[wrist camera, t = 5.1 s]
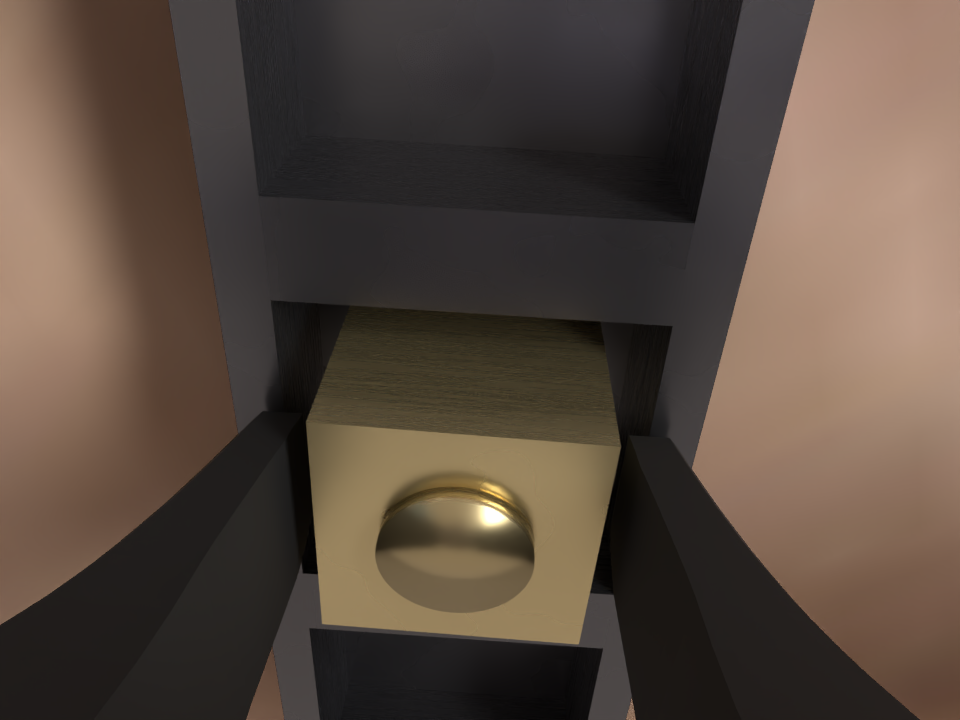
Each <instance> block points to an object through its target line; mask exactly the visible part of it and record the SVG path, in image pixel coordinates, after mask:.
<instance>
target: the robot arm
mask: <svg viewBox="0 0 960 720" xmlns="http://www.w3.org/2000/svg"><path fill="white" fill-rule="evenodd" d="M311 517H312V502H311V492H310V482H309V472H308V462H307V452H306V442H305V432H304V422H303V414H301V413H286V412H270V411H262V412H261V413H260V414H259V415H257V416H256V417H255V418H254V419H253V420H252V421H251V422H250V423H249V424H248V425H247V426H246V427H245V428H244V429H243V430H242V431H241V432H240V433H239V434H238V435H237V436H236V437H235V438H234V439H233V440H232V441H231V442H230V443H229V444H228V445H227V446H226V447H225V448H224V449H223V450H222V451H221V452H220V453H219V454H217V455H216V456H215V457H214V458H213V459H212V460H211V461H210V462H209V463H208V464H207V465H206V466H205V467H204V468H203V469H202V470H201V471H200V472H199V473H198V474H197V475H195V476H194V477H193V478H192V479H191V480H190V481H189V482H188V483H187V484H186V485H185V486H184V487H183V488H181V489H180V490H179V491H178V492H177V493H176V494H175V495H174V496H173V497H172V498H171V499H170V500H168V501H167V502H166V503H165V504H164V505H163V506H162V507H161V508H159V509H158V510H157V511H156V512H155V513H153V514H152V515H151V516H150V517H149V518H148V519H146V520H145V521H144V522H143V523H142V524H140V525H139V526H138V527H137V528H136V529H134V530H133V531H132V532H131V533H130V534H128V535H127V536H126V537H125V538H124V539H122V540H121V541H120V542H119V543H118V544H116V545H115V546H114V547H113V548H111V549H110V550H109V551H108V552H106V553H105V554H104V555H102V556H101V557H100V558H99V559H97V560H96V561H95V562H93V563H92V564H91V565H89V566H88V567H87V568H85V569H84V570H83V571H81V572H80V573H78V574H77V575H76V576H74V577H73V578H71V579H70V580H69V581H67V582H66V583H64V584H63V585H62V586H60V587H59V588H57V589H56V590H54V591H53V592H52V593H50V594H49V595H47V596H46V597H44V598H43V599H41V600H40V601H38V602H36V603H35V604H33V605H32V606H30V607H28V608H27V609H25V610H24V611H22V612H20V613H19V614H17V615H16V616H14V617H12V618H11V619H9V620H8V621H6V622H4V623H3V624H1V625H0V720H246V718H247V715H248V712H249V709H250V706H251V703H252V700H253V697H254V695H255V692H256V689H257V686H258V684H259V681H260V678H261V676H262V673H263V670H264V667H265V665H266V662H267V659H268V656H269V654H270V651H271V648H272V645H273V643H274V640H275V637H276V635H277V632H278V629H279V626H280V624H281V621H282V618H283V615H284V613H285V610H286V607H287V604H288V601H289V599H290V596H291V593H292V590H293V587H294V585H295V582H296V579H297V576H298V573H299V569H300V565H301V561H302V557H303V553H304V549H305V544H306V540H307V535H308V531H309V526H310V522H311ZM610 546H611V564H612V580H613V594H614V600H615V606H616V611H617V617H618V623H619V628H620V634H621V640H622V645H623V651H624V656H625V661H626V667H627V672H628V678H629V683H630V689H631V694H632V700H633V705H634V711H635V716H636V720H920V719H918V718H917V717H916V716H915V715H914V714H912V713H911V712H910V711H909V710H908V709H907V708H906V707H904V706H903V705H902V704H901V703H900V702H899V701H898V700H896V699H895V698H894V697H893V696H892V695H891V694H890V693H888V692H887V691H886V690H885V689H884V688H883V687H882V686H880V685H879V684H878V683H877V682H876V681H875V680H873V679H872V678H871V677H870V676H869V675H868V674H867V673H866V672H865V671H864V670H862V669H861V668H860V667H859V666H858V665H857V664H856V663H855V662H854V661H853V660H852V659H851V658H850V657H848V656H847V655H846V654H845V653H844V652H843V651H842V650H841V649H840V648H839V647H838V646H837V645H836V644H835V643H834V642H833V641H832V640H831V639H830V638H829V637H828V636H827V635H826V634H825V633H824V632H823V631H822V630H821V629H820V628H819V627H818V626H817V625H816V624H815V623H814V622H813V621H812V620H811V619H810V618H809V617H808V615H807V614H806V613H805V612H804V611H803V610H802V609H801V608H800V607H799V606H798V605H797V603H796V602H795V601H794V600H793V599H792V598H791V597H790V596H789V595H788V593H787V592H786V591H785V590H784V589H783V588H782V586H781V585H780V584H779V583H778V582H777V581H776V579H775V578H774V577H773V576H772V575H771V574H770V573H769V571H768V570H767V569H766V568H765V567H764V565H763V564H762V563H761V562H760V560H759V559H758V558H757V557H756V556H755V554H754V553H753V552H752V551H751V549H750V548H749V547H748V545H747V544H746V543H745V542H744V540H743V539H742V538H741V536H740V535H739V534H738V532H737V531H736V530H735V529H734V527H733V526H732V525H731V523H730V522H729V521H728V520H727V518H726V517H725V516H724V514H723V513H722V511H721V510H720V509H719V507H718V506H717V505H716V503H715V502H714V500H713V499H712V498H711V496H710V495H709V493H708V492H707V490H706V489H705V488H704V486H703V485H702V483H701V482H700V480H699V479H698V478H697V476H696V475H695V473H694V472H693V470H692V469H691V467H690V466H689V464H688V463H687V461H686V460H685V458H684V457H683V455H682V454H681V452H680V451H679V449H678V448H677V446H676V445H675V444H674V442H673V441H672V440H671V439H670V438H663V437H648V436H633V435H629V437H628V443H627V448H626V453H625V458H624V463H623V468H622V473H621V478H620V483H619V488H618V493H617V498H616V503H615V508H614V514H613V519H612V524H611V529H610Z"/></svg>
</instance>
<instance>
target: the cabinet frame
mask: <svg viewBox="0 0 960 720" xmlns="http://www.w3.org/2000/svg"><path fill="white" fill-rule="evenodd" d="M168 1H169V7H170V13H171V20H172V26H173V32H174V38H175V44H176V51H177V57H178V63H179V69H180V75H181V82H182V88H183V94H184V100H185V106H186V113H187V119H188V125H189V131H190V137H191V144H192V150H193V156H194V162H195V168H196V175H197V181H198V187H199V193H200V199H201V206H202V212H203V218H204V224H205V230H206V237H207V243H208V249H209V255H210V261H211V268H212V274H213V280H214V286H215V292H216V299H217V305H218V311H219V317H220V323H221V330H222V336H223V342H224V348H225V354H226V360H227V367H228V373H229V379H230V385H231V391H232V398H233V404H234V410H235V416H236V422H237V429H238V434H239V433H240V432H241V431H242V430H243V429H244V428H245V427H246V426H247V425H248V424H249V423H250V422H251V421H252V420H253V419H254V418H255V417H256V416H257V415H259V414H260V413H261V412H262V411H270V412H286V413H301V414H303V422H304V432H305V442H306V452H307V462H308V472H309V482H310V492H311V502H312V491H311V478H310V466H309V453H308V441H307V428H306V421H307V418H308V416H309V413H310V410H311V408H312V405H313V402H314V400H315V397H316V394H317V392H318V389H319V386H320V384H321V381H322V378H323V376H324V373H325V371H326V368H327V365H328V363H329V360H330V357H331V355H332V352H333V349H334V347H335V344H336V341H337V339H338V336H339V333H340V331H341V328H342V326H343V323H344V320H345V318H346V315H347V312H348V310H349V307H350V305H351V306H367V307H382V308H398V309H413V310H429V311H445V312H460V313H476V314H491V315H507V316H522V317H538V318H553V319H569V320H585V321H600V322H601V327H602V333H603V339H604V345H605V351H606V357H607V364H608V370H609V376H610V382H611V388H612V394H613V401H614V407H615V413H616V419H617V425H618V431H619V438H620V444H621V449H620V454H619V459H618V463H617V468H616V473H615V477H614V482H613V487H612V491H611V496H610V501H609V505H608V510H607V515H606V519H605V524H604V529H603V533H602V538H601V543H600V548H599V552H598V557H597V562H596V566H595V571H594V576H593V580H592V585H591V590H590V594H589V599H588V604H587V608H586V613H585V618H584V622H583V627H582V632H581V636H580V641H579V644H566V643H554V642H541V641H529V640H516V639H504V638H491V637H479V636H466V635H454V634H441V633H429V632H416V631H404V630H391V629H379V628H366V627H354V626H341V625H329V624H322V616H321V604H320V591H319V579H318V566H317V554H316V541H315V529H314V516H313V503H312V517H311V522H310V526H309V531H308V535H307V540H306V544H305V549H304V553H303V557H302V561H301V565H300V569H299V573H298V576H297V579H296V582H295V585H294V587H293V590H292V593H291V596H290V599H289V601H288V604H287V607H286V610H285V613H284V615H283V618H282V621H281V624H280V626H279V629H278V632H277V635H276V637H275V640H274V643H273V645H272V646H273V652H274V658H275V664H276V670H277V677H278V683H279V689H280V695H281V701H282V708H283V714H284V720H626V717H627V713H628V709H629V705H630V702H631V698H632V694H631V689H630V683H629V678H628V672H627V667H626V661H625V656H624V651H623V645H622V640H621V634H620V628H619V623H618V617H617V611H616V606H615V600H614V594H613V580H612V564H611V546H610V529H611V524H612V519H613V514H614V508H615V503H616V498H617V493H618V488H619V483H620V478H621V473H622V468H623V463H624V458H625V453H626V448H627V443H628V437H629V435H633V436H648V437H663V438H670V439H671V440H672V441H673V442H674V444H675V445H676V446H677V448H678V449H679V451H680V452H681V454H682V455H683V457H684V458H685V460H686V461H687V463H688V464H689V466H690V467H691V469H692V466H693V462H694V458H695V454H696V450H697V447H698V443H699V439H700V435H701V431H702V428H703V424H704V420H705V416H706V412H707V409H708V405H709V401H710V397H711V393H712V389H713V386H714V382H715V378H716V374H717V370H718V367H719V363H720V359H721V355H722V351H723V348H724V344H725V340H726V336H727V332H728V329H729V325H730V321H731V317H732V313H733V310H734V306H735V302H736V298H737V294H738V291H739V287H740V283H741V279H742V275H743V272H744V268H745V264H746V260H747V256H748V252H749V249H750V245H751V241H752V237H753V233H754V230H755V226H756V222H757V218H758V214H759V211H760V207H761V203H762V199H763V195H764V192H765V188H766V184H767V180H768V176H769V173H770V169H771V165H772V161H773V157H774V154H775V150H776V146H777V142H778V138H779V135H780V131H781V127H782V123H783V119H784V115H785V112H786V108H787V104H788V100H789V96H790V93H791V89H792V85H793V81H794V77H795V74H796V70H797V66H798V62H799V58H800V55H801V51H802V47H803V43H804V39H805V36H806V32H807V28H808V24H809V20H810V17H811V13H812V9H813V5H814V1H815V0H168Z"/></svg>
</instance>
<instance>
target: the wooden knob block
mask: <svg viewBox="0 0 960 720" xmlns="http://www.w3.org/2000/svg"><path fill="white" fill-rule="evenodd" d="M306 428H307V441H308V453H309V466H310V478H311V491H312V503H313V516H314V529H315V541H316V554H317V566H318V579H319V591H320V604H321V616H322V624H329V625H341V626H354V627H366V628H379V629H391V630H404V631H416V632H429V633H441V634H454V635H466V636H479V637H491V638H504V639H516V640H529V641H541V642H554V643H566V644H579V641H580V636H581V632H582V627H583V622H584V618H585V613H586V608H587V604H588V599H589V594H590V590H591V585H592V580H593V576H594V571H595V566H596V562H597V557H598V552H599V548H600V543H601V538H602V533H603V529H604V524H605V519H606V515H607V510H608V505H609V501H610V496H611V491H612V487H613V482H614V477H615V473H616V468H617V463H618V459H619V454H620V449H621V444H620V438H619V431H618V425H617V419H616V413H615V407H614V401H613V394H612V388H611V382H610V376H609V370H608V364H607V357H606V351H605V345H604V339H603V333H602V327H601V322H600V321H585V320H569V319H553V318H538V317H522V316H507V315H491V314H476V313H460V312H445V311H429V310H413V309H398V308H382V307H367V306H351V305H350V307H349V310H348V312H347V315H346V318H345V320H344V323H343V326H342V328H341V331H340V333H339V336H338V339H337V341H336V344H335V347H334V349H333V352H332V355H331V357H330V360H329V363H328V365H327V368H326V371H325V373H324V376H323V378H322V381H321V384H320V386H319V389H318V392H317V394H316V397H315V400H314V402H313V405H312V408H311V410H310V413H309V416H308V418H307V421H306Z"/></svg>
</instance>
